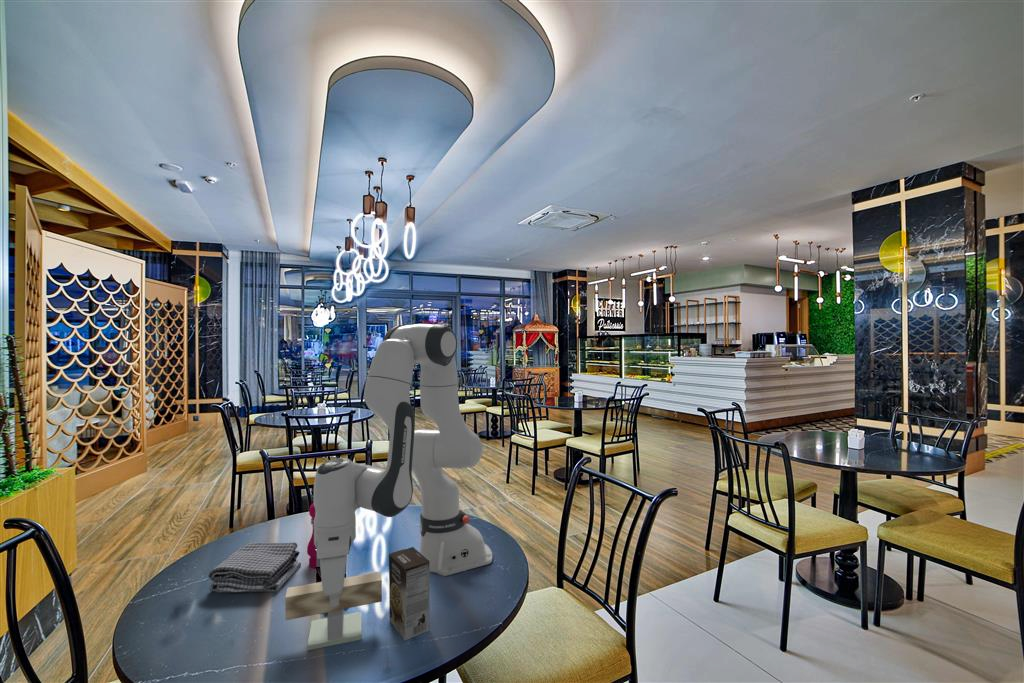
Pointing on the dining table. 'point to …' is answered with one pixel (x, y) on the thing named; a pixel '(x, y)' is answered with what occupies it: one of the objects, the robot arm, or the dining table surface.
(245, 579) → the towel
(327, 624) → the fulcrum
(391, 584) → the coffee box
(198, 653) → the dining table surface
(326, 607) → the beech bar
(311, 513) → the pepper mill
